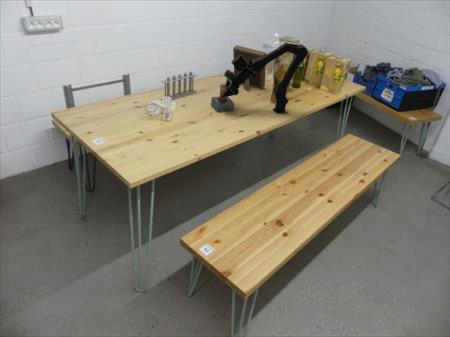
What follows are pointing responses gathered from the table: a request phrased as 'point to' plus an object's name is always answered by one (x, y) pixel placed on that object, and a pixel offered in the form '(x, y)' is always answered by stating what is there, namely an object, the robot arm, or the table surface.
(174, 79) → the test tube rack
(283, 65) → the pancake mix bag
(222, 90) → the walnut pin
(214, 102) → the bore block
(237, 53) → the photo frame
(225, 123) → the table surface
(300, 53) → the robot arm
